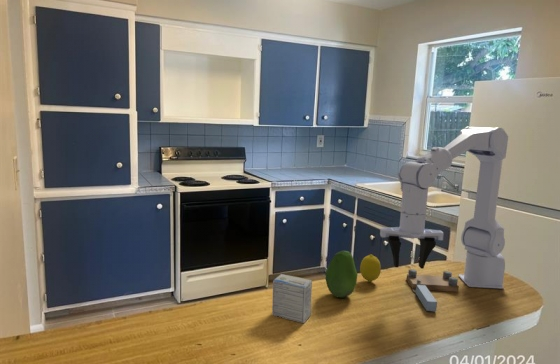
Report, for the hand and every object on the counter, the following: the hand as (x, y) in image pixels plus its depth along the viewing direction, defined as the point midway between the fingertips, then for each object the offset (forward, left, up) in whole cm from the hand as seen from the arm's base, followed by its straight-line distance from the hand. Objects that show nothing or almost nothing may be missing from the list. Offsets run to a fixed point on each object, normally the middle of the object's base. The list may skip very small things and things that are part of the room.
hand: (408, 266), depth 98 cm
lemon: (+7, -12, -10) cm, 17 cm away
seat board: (-10, -12, -9) cm, 18 cm away
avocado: (+16, -2, -10) cm, 19 cm away
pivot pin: (-5, -7, -9) cm, 13 cm away
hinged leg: (-5, -1, -9) cm, 10 cm away
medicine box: (+28, +10, -10) cm, 31 cm away
